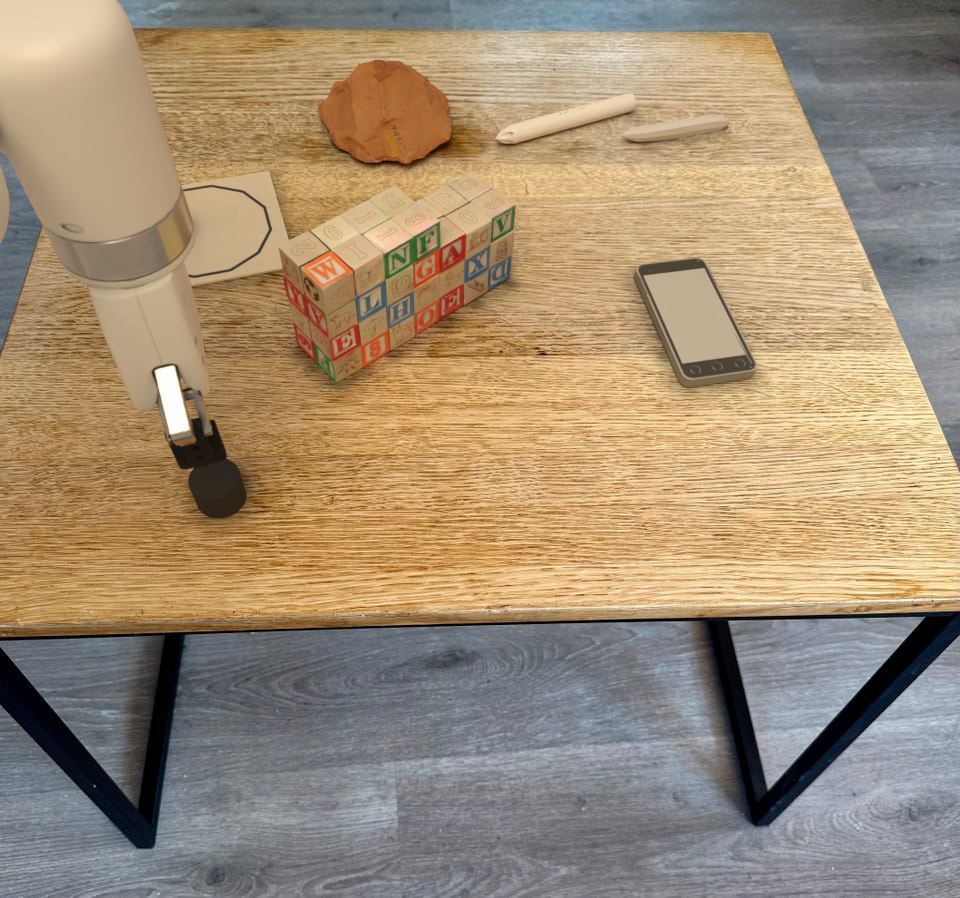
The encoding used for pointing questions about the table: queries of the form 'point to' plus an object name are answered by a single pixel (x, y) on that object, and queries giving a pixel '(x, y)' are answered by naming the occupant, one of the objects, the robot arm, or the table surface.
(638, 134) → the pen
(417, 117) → the stone
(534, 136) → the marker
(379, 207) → the stack of blocks
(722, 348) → the smartphone
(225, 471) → the right eye dot
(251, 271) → the face card
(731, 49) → the table surface
